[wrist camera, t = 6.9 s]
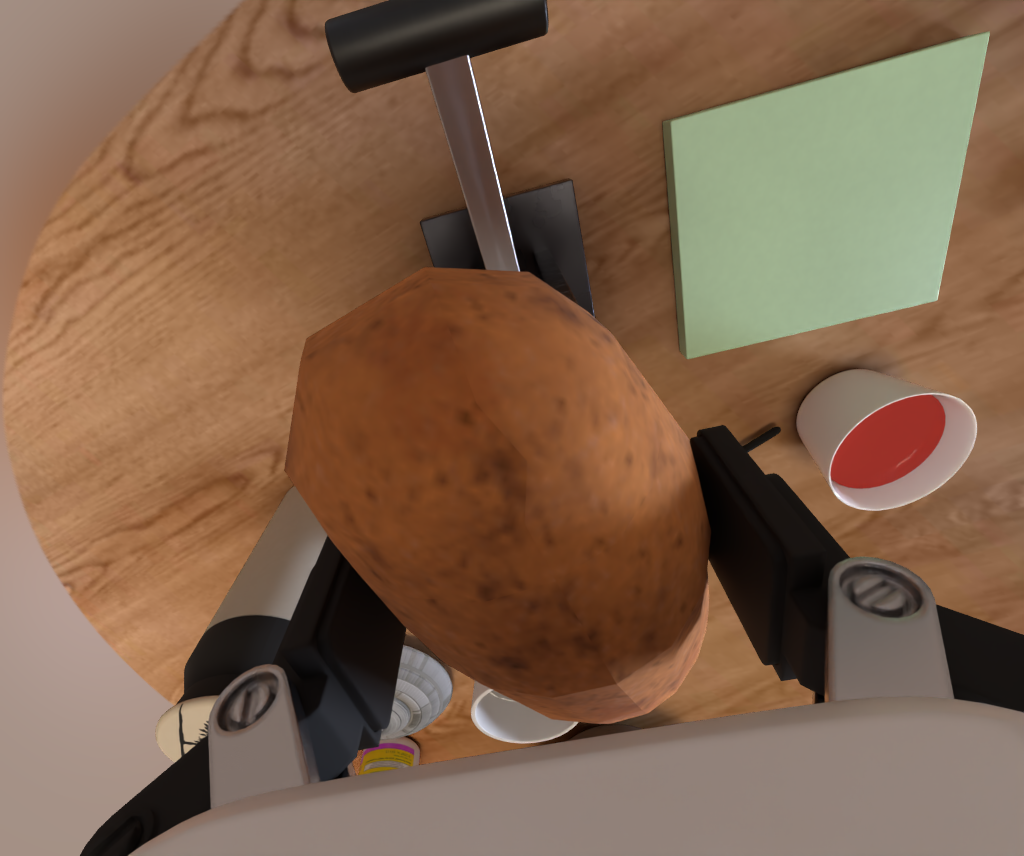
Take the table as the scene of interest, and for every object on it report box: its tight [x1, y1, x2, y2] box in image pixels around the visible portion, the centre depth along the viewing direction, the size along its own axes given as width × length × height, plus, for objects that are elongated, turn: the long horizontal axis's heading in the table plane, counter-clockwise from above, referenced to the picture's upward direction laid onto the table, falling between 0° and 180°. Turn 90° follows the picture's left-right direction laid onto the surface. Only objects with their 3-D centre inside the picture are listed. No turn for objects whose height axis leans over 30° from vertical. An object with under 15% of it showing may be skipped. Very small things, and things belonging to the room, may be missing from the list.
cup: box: [471, 681, 578, 743], centre depth 40 cm, size 8×8×12 cm
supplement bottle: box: [358, 737, 420, 775], centre depth 53 cm, size 7×7×13 cm
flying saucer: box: [380, 645, 453, 740], centre depth 49 cm, size 15×15×6 cm
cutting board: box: [662, 31, 990, 359], centre depth 29 cm, size 14×16×2 cm
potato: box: [284, 267, 711, 724], centre depth 11 cm, size 7×13×7 cm, turn 24°
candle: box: [796, 369, 977, 510], centre depth 34 cm, size 9×9×6 cm
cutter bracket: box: [420, 178, 595, 318], centre depth 26 cm, size 11×9×14 cm
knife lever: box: [325, 0, 548, 271], centre depth 17 cm, size 14×5×2 cm, turn 14°
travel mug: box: [155, 486, 327, 762], centre depth 33 cm, size 8×8×18 cm
